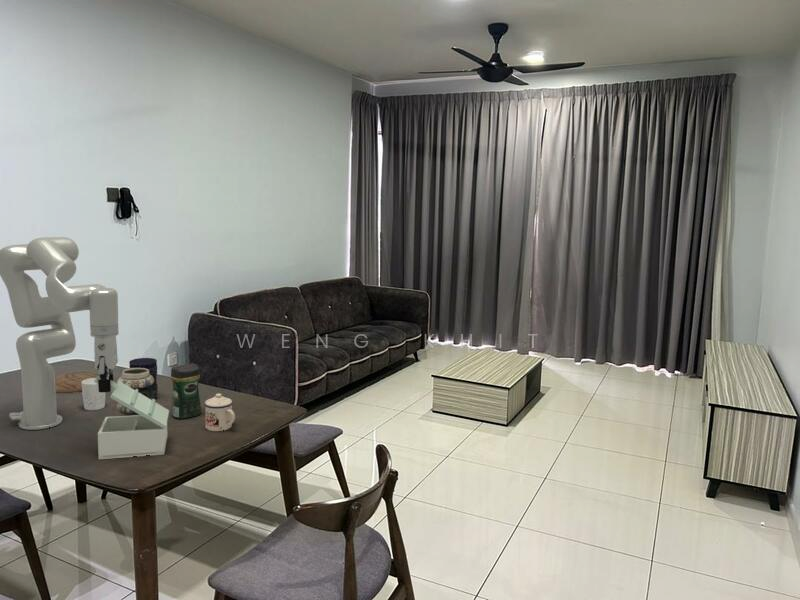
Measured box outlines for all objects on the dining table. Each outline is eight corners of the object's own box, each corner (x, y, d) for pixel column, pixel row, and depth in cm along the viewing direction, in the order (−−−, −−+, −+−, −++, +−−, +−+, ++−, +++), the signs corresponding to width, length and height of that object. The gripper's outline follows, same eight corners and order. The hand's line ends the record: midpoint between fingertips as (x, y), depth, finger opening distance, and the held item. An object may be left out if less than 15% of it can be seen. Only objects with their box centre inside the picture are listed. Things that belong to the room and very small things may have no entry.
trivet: (65, 398, 230) (65, 393, 229) (23, 387, 240) (23, 383, 240) (121, 382, 252) (121, 377, 252) (80, 373, 263) (79, 368, 262)
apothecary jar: (157, 414, 217) (156, 365, 214) (153, 426, 205) (152, 374, 203) (120, 415, 213) (119, 366, 211) (114, 428, 202) (112, 376, 199)
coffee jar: (193, 409, 223) (193, 360, 220) (204, 415, 218) (203, 365, 215) (168, 415, 216) (167, 364, 213) (178, 421, 211) (177, 369, 208)
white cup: (81, 412, 216) (80, 384, 214) (83, 405, 223) (82, 378, 221) (106, 409, 219) (105, 383, 217) (107, 403, 226) (106, 377, 224)
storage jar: (161, 395, 237) (161, 358, 235) (152, 403, 227) (151, 365, 225) (136, 394, 237) (135, 357, 234) (125, 402, 227) (124, 364, 225)
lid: (91, 386, 174) (94, 381, 174) (99, 373, 187) (103, 368, 188) (164, 428, 182) (167, 423, 182) (167, 412, 195) (170, 408, 195)
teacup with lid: (198, 427, 206) (198, 394, 204) (219, 420, 213) (219, 388, 211) (223, 436, 199) (223, 402, 198) (244, 428, 207) (244, 395, 205)
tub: (98, 459, 178) (97, 433, 177) (106, 441, 191) (105, 416, 190) (164, 454, 183) (163, 429, 182) (167, 437, 197) (166, 413, 195)
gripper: (113, 336, 172) (115, 397, 175) (122, 323, 188) (123, 380, 191) (84, 336, 170) (86, 399, 173) (95, 324, 186) (97, 381, 189)
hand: (106, 388), depth 182 cm, fingers closed on lid, 4 cm apart
